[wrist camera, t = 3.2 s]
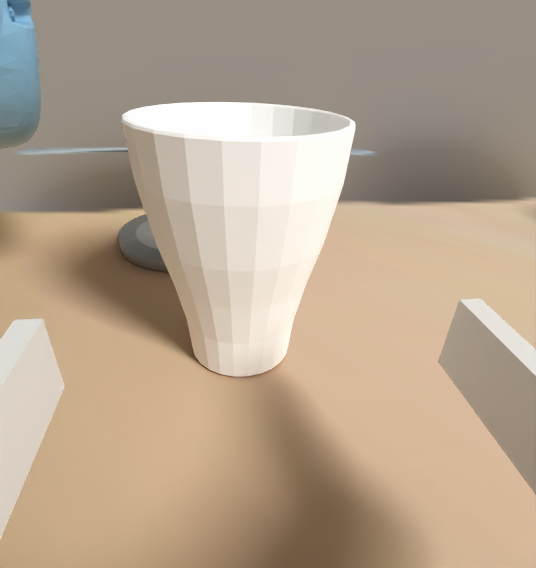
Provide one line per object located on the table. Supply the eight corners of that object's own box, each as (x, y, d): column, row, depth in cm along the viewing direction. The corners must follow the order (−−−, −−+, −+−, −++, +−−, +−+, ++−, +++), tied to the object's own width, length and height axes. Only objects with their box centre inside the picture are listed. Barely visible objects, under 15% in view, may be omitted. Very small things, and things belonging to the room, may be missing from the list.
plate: (95, 264, 33) (92, 251, 32) (150, 214, 43) (148, 203, 42) (234, 278, 32) (234, 265, 31) (257, 223, 42) (257, 212, 41)
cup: (348, 395, 21) (400, 138, 14) (150, 421, 19) (100, 138, 12) (298, 294, 30) (316, 103, 23) (159, 304, 28) (132, 100, 21)
